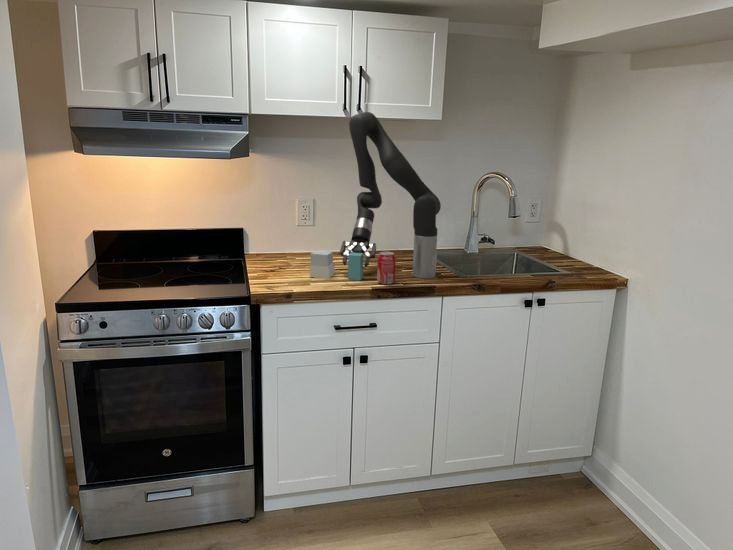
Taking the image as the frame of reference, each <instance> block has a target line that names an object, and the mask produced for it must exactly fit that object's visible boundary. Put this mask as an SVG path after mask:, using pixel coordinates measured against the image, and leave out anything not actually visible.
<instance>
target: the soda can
mask: <svg viewBox="0 0 733 550" xmlns="http://www.w3.org/2000/svg"><path fill="white" fill-rule="evenodd" d="M396 260H397V259H396V256H395V253H394V252H393V251H379V254H378V256H377V263H376V264H377V265H376V266H377V268H376V270H377V271H376V272H377V273H376V274H377V275H376V279H377V280H376V281H377V283H379V284H380V283H381V284H380V285H384V284H390V285H393V283H395V282H396V281H395V280H396V268H397V267H396V265H397V264H396V262H397V261H396Z"/></svg>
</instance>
